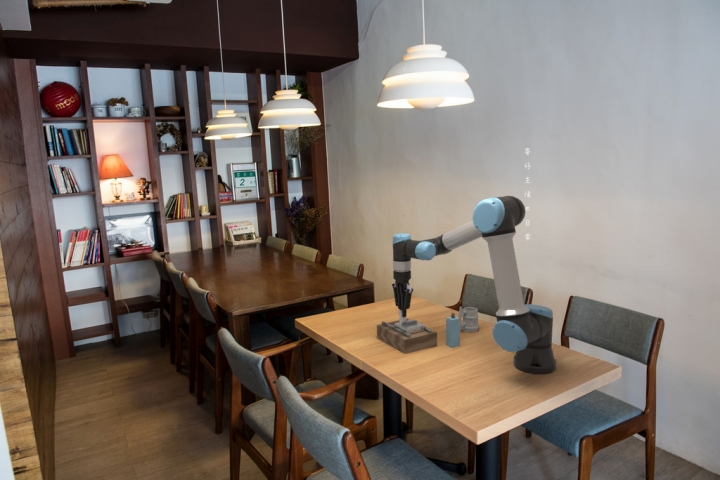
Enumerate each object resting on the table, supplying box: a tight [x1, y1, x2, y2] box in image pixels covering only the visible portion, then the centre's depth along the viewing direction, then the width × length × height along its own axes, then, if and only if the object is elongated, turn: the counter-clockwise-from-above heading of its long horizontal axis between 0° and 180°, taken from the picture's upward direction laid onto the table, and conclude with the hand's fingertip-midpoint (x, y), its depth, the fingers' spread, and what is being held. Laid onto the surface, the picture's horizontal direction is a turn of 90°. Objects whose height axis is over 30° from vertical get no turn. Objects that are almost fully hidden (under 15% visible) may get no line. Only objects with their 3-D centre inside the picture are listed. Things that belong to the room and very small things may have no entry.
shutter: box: [395, 319, 426, 334], centre depth 221 cm, size 9×9×3 cm
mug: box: [457, 306, 480, 333], centre depth 236 cm, size 8×12×12 cm, turn 124°
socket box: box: [376, 318, 438, 355], centre depth 224 cm, size 22×16×7 cm
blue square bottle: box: [445, 312, 461, 349], centre depth 218 cm, size 4×4×14 cm
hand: (402, 323), depth 226 cm, fingers closed
